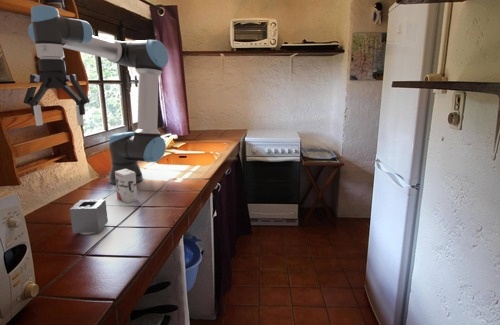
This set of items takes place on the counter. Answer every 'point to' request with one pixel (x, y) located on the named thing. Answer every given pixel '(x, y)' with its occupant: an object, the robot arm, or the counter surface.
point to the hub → (90, 233)
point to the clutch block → (88, 216)
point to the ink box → (126, 185)
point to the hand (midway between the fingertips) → (60, 125)
